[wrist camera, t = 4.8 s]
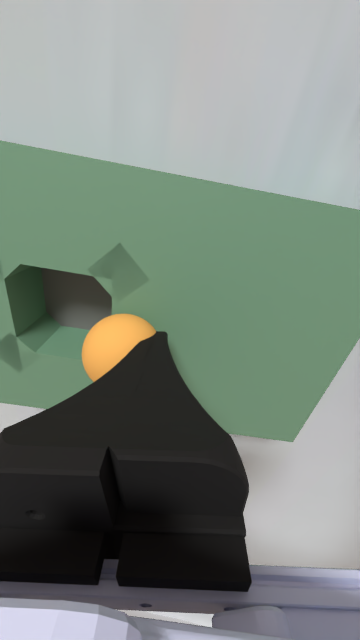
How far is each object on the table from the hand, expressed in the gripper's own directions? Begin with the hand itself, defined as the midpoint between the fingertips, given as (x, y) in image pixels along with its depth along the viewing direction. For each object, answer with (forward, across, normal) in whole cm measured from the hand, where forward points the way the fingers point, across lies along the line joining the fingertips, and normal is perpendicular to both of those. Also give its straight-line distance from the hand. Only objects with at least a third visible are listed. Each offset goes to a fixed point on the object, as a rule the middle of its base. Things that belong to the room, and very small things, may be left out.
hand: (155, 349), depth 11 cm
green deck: (+4, 0, 0) cm, 5 cm away
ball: (0, +1, 0) cm, 1 cm away
